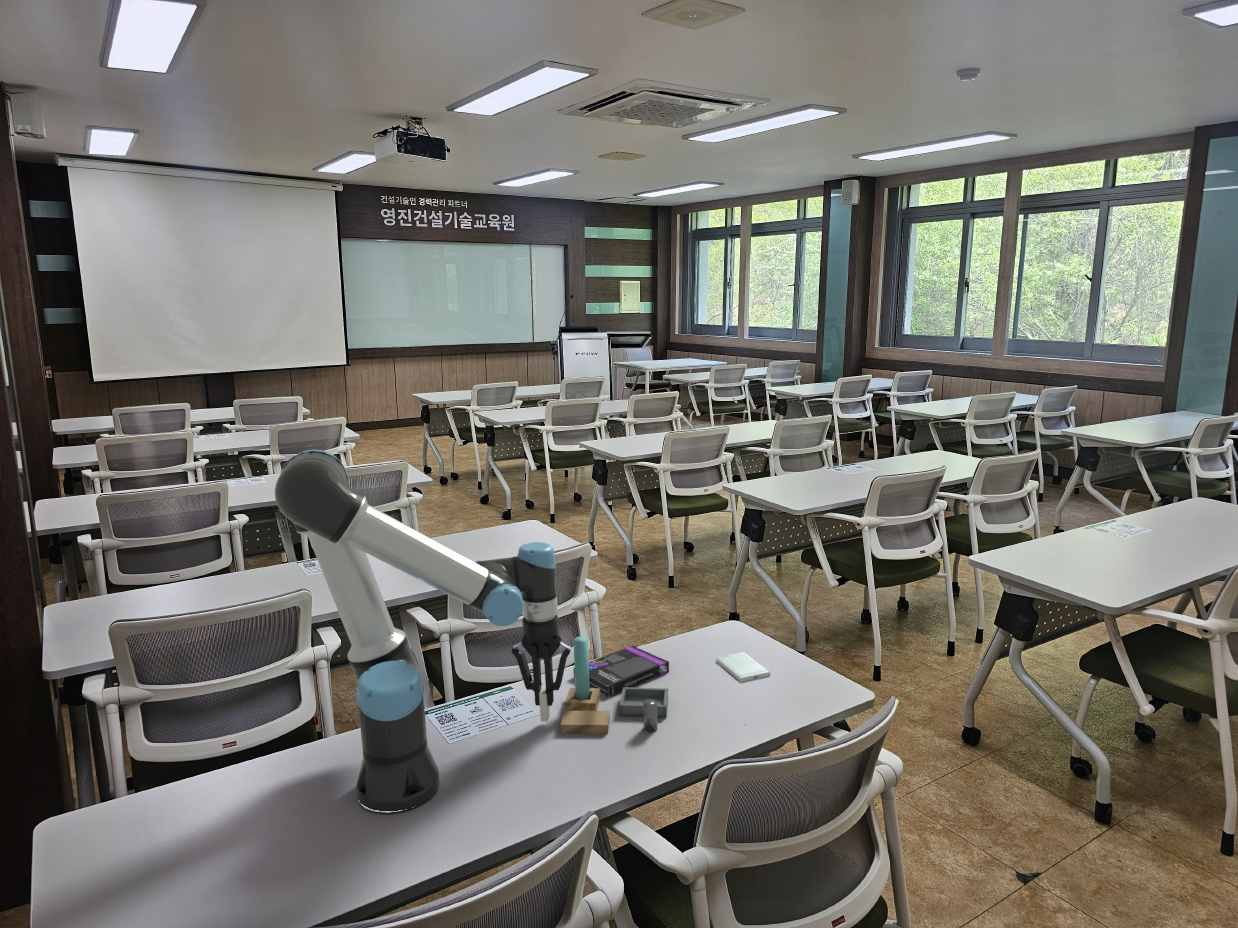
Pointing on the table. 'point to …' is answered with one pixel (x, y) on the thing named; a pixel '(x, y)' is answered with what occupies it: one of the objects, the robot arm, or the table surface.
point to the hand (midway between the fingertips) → (545, 718)
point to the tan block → (585, 722)
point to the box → (624, 670)
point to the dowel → (581, 668)
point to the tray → (634, 701)
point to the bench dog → (650, 715)
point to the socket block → (582, 701)
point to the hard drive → (742, 666)
